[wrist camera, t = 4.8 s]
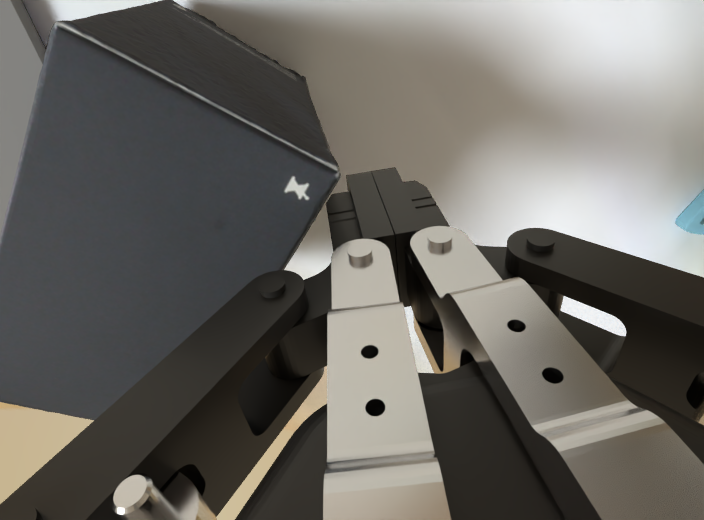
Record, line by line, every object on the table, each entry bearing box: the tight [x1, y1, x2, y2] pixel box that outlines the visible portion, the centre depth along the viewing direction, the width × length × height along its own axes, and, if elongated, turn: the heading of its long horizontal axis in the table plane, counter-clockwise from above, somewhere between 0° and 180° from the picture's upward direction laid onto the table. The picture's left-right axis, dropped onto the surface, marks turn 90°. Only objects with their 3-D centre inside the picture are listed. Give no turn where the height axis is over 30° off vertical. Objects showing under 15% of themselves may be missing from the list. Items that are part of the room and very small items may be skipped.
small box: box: [0, 0, 341, 420], centre depth 15 cm, size 11×6×10 cm, turn 148°
